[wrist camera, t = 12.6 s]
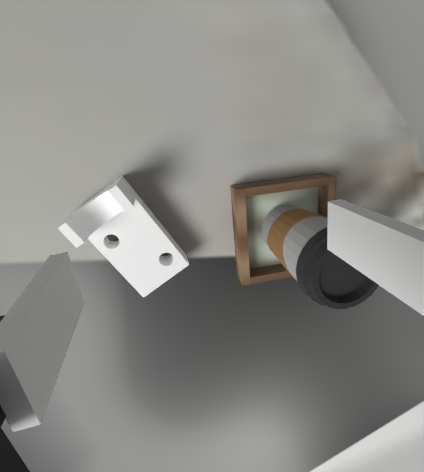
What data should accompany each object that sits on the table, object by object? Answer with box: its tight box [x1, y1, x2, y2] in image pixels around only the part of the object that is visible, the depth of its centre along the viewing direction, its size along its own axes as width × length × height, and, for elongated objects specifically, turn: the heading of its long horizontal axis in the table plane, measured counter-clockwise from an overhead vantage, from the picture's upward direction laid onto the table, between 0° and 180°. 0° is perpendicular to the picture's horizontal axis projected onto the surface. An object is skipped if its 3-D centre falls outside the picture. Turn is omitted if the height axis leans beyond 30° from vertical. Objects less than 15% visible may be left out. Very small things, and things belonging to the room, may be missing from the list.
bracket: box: [58, 176, 189, 297], centre depth 35 cm, size 13×7×8 cm, turn 35°
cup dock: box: [230, 173, 336, 286], centre depth 40 cm, size 13×13×3 cm
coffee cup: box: [262, 205, 379, 309], centre depth 34 cm, size 8×8×15 cm
